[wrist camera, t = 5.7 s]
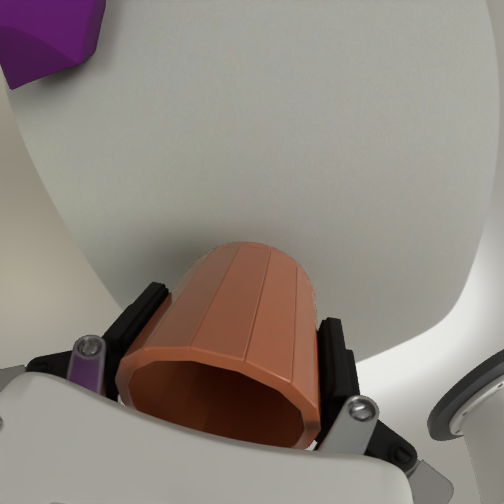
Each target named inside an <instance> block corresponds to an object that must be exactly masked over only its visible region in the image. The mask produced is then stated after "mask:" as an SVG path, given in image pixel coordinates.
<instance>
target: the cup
mask: <svg viewBox="0 0 504 504" xmlns="http://www.w3.org/2000/svg"><path fill="white" fill-rule="evenodd" d="M115 383H116V386H117V389H118V392H119V395H120V398H121V400H122V402H123V403H124V405H125V406H127V407H129V408H132V409H134V410H137V411H139V412H142V413H145V414H147V415H150V416H153V417H156V418H159V419H162V420H165V421H168V422H171V423H174V424H177V425H180V426H184V427H187V428H191V429H194V430H198V431H202V432H205V433H209V434H213V435H217V436H222V437H226V438H231V439H235V440H240V441H245V442H251V443H256V444H262V445H269V446H276V447H283V448H292V449H301V450H304V449H306V448H308V447H309V446H310V445H311V443H312V442H313V441H314V439H315V438H316V436H317V435H318V434H319V432H320V431H321V428H322V418H321V375H320V353H319V336H318V321H317V310H316V304H315V294H314V290H313V287H312V284H311V282H310V279H309V278H308V276H307V274H306V273H305V271H304V270H303V269H302V268H301V267H300V265H299V264H298V263H296V262H295V261H294V260H293V259H292V258H291V257H289V256H288V255H286V254H285V253H283V252H281V251H279V250H278V249H275V248H273V247H270V246H268V245H264V244H260V243H255V242H232V243H227V244H223V245H219V246H217V247H215V248H212V249H211V250H209V251H207V252H206V253H204V254H203V255H202V256H201V257H199V258H198V260H197V261H196V262H195V263H193V264H192V265H191V266H190V267H189V269H188V270H187V271H186V273H185V274H184V275H183V276H182V278H181V279H180V280H179V282H178V283H177V284H176V286H175V287H174V288H173V289H172V291H171V292H170V293H169V295H168V296H167V297H166V299H165V300H164V301H163V303H162V304H161V305H160V307H159V308H158V309H157V311H156V312H155V313H154V315H153V316H152V317H151V319H150V320H149V321H148V323H147V324H146V325H145V327H144V328H143V330H142V331H141V332H140V334H139V335H138V336H137V338H136V339H135V341H134V342H133V343H132V345H131V346H130V347H129V349H128V350H127V352H126V353H125V354H124V356H123V357H122V359H121V360H120V363H119V366H118V370H117V373H116V376H115Z"/></svg>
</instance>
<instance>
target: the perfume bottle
mask: <svg viewBox="0 0 504 504" xmlns="http://www.w3.org/2000/svg"><path fill="white" fill-rule="evenodd" d="M105 7H106V0H0V65H1V68H2V70H3V73H4V75H5V78H6V81H7V83H8V85H9V88H10V89H11V90H13V89H15V88H18V87H20V86H22V85H24V84H27V83H29V82H32V81H34V80H37V79H39V78H42V77H44V76H47V75H50V74H53V73H55V72H58V71H61V70H64V69H68V68H71V67H74V66H77V65H79V64H80V63H81V62H83V61H84V60H85V59H86V58H88V57H89V56H90V55H92V54H93V53H94V52H95V50H96V45H97V40H98V35H99V31H100V26H101V22H102V18H103V14H104V10H105Z"/></svg>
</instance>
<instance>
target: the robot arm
mask: <svg viewBox="0 0 504 504" xmlns="http://www.w3.org/2000/svg"><path fill="white" fill-rule="evenodd" d="M168 295H169V289H168V288H166V286H165V284H161V283H157V282H152V283H151V284H150V285H149V286H148V287H147V288H146V289H145V290H144V292H143V293H142V294H141V295H140V296H139V297H138V298H137V299H136V300H135V302H134V303H133V304H131V305H129V306H128V307H127V308H126V309H125V310H124V312H123V313H122V314H121V315H120V316H119V317H118V319H117V320H116V321H115V322H114V323H113V324H112V325H111V327H110V328H109V329H108V330H107V331H106V332H105V334H104V335H103V336H102V337H99V336H97V335H86V336H83V337H81V338H79V339H78V340H77V341H76V342H75V344H74V347H73V350H71V351H66V352H61V353H56V354H51V355H45V356H40V357H36V358H34V359H33V360H31V361H30V362H29V364H28V365H27V367H25V366H24V365H19V366H15V367H10V368H5V369H0V504H448V502H449V501H450V499H451V498H452V495H453V493H454V488H453V485H452V483H451V482H450V481H449V480H448V479H447V478H445V477H444V476H443V475H442V474H440V473H439V472H438V471H436V470H435V469H434V468H433V467H431V466H430V465H429V464H428V463H426V462H425V461H424V460H421V461H419V460H418V459H417V452H416V450H415V448H414V447H413V446H412V445H411V444H410V443H408V442H407V441H406V440H405V439H403V438H402V437H401V436H399V435H398V434H397V433H395V432H394V431H393V430H391V429H390V428H389V427H387V426H386V425H385V424H384V423H382V422H381V421H380V420H378V417H379V408H378V406H377V404H376V403H375V402H374V401H373V400H372V399H370V398H369V397H366V396H363V395H360V390H359V383H358V377H357V371H356V365H355V360H354V354H353V351H352V350H347V349H346V348H345V342H344V336H343V330H342V324H341V320H340V319H336V318H330V317H328V318H327V319H326V320H322V322H321V325H320V328H319V330H318V336H319V353H320V375H321V418H322V428H321V431H320V432H319V434H318V435H317V436H316V438H315V439H314V440H315V441H316V442H317V444H316V446H315V447H314V449H313V450H312V451H309V450H301V449H292V448H283V447H276V446H269V445H262V444H256V443H251V442H245V441H240V440H235V439H231V438H226V437H222V436H217V435H213V434H209V433H205V432H202V431H198V430H194V429H191V428H187V427H184V426H180V425H177V424H174V423H171V422H168V421H165V420H162V419H159V418H156V417H153V416H150V415H147V414H145V413H142V412H139V411H137V410H134V409H132V408H129V407H127V406H124V405H122V404H120V400H121V398H120V395H119V392H118V389H117V386H116V383H115V376H116V373H117V370H118V366H119V363H120V360H121V359H122V357H123V356H124V354H125V353H126V352H127V350H128V349H129V347H130V346H131V345H132V343H133V342H134V341H135V339H136V338H137V336H138V335H139V334H140V332H141V331H142V330H143V328H144V327H145V325H146V324H147V323H148V321H149V320H150V319H151V317H152V316H153V315H154V313H155V312H156V311H157V309H158V308H159V307H160V305H161V304H162V303H163V301H164V300H165V299H166V297H167V296H168ZM449 428H450V431H451V433H452V434H453V435H464V438H465V441H466V444H467V448H468V451H469V454H470V458H471V461H472V465H473V468H474V472H475V476H476V480H477V484H478V489H479V494H480V499H481V504H504V374H503V375H501V376H499V377H498V378H496V379H494V380H493V381H491V382H490V383H488V384H487V385H485V386H484V387H483V388H482V389H480V390H479V391H478V392H476V393H475V394H474V395H473V396H472V397H471V398H469V399H468V400H467V401H466V402H465V403H464V404H463V405H462V406H461V407H460V408H459V409H458V410H457V412H456V413H455V414H454V416H453V417H452V419H451V421H450V423H449Z"/></svg>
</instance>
